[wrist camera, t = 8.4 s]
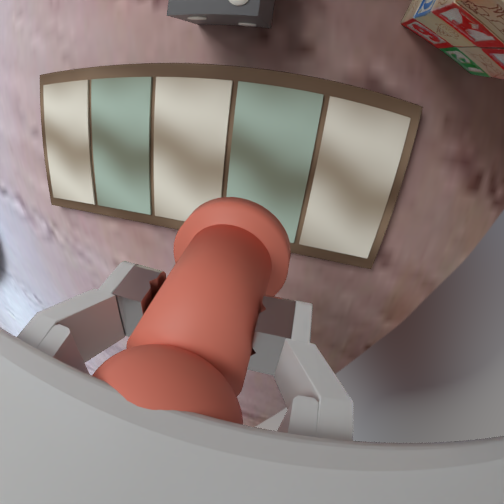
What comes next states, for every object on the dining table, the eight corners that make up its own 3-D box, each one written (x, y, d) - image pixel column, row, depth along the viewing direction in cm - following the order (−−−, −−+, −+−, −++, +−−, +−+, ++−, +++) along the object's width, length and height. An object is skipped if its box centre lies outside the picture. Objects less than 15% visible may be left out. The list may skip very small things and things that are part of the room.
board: (47, 73, 20) (38, 75, 19) (418, 105, 17) (423, 107, 16) (57, 200, 27) (50, 205, 26) (369, 261, 24) (371, 270, 23)
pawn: (183, 188, 11) (5, 404, 4) (300, 209, 11) (248, 509, 3) (183, 279, 14) (80, 474, 6) (280, 300, 14) (230, 527, 6)
